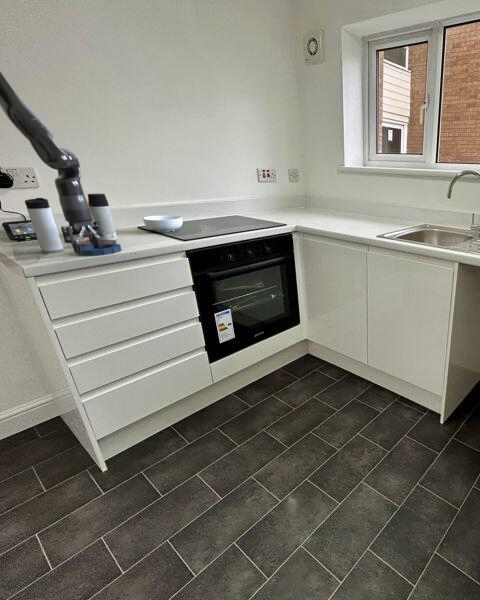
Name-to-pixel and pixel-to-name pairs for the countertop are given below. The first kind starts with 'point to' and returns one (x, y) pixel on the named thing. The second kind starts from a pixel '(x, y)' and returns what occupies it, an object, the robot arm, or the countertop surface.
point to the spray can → (102, 215)
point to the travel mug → (44, 225)
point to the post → (89, 242)
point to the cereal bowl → (163, 223)
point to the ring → (101, 249)
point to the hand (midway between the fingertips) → (88, 251)
